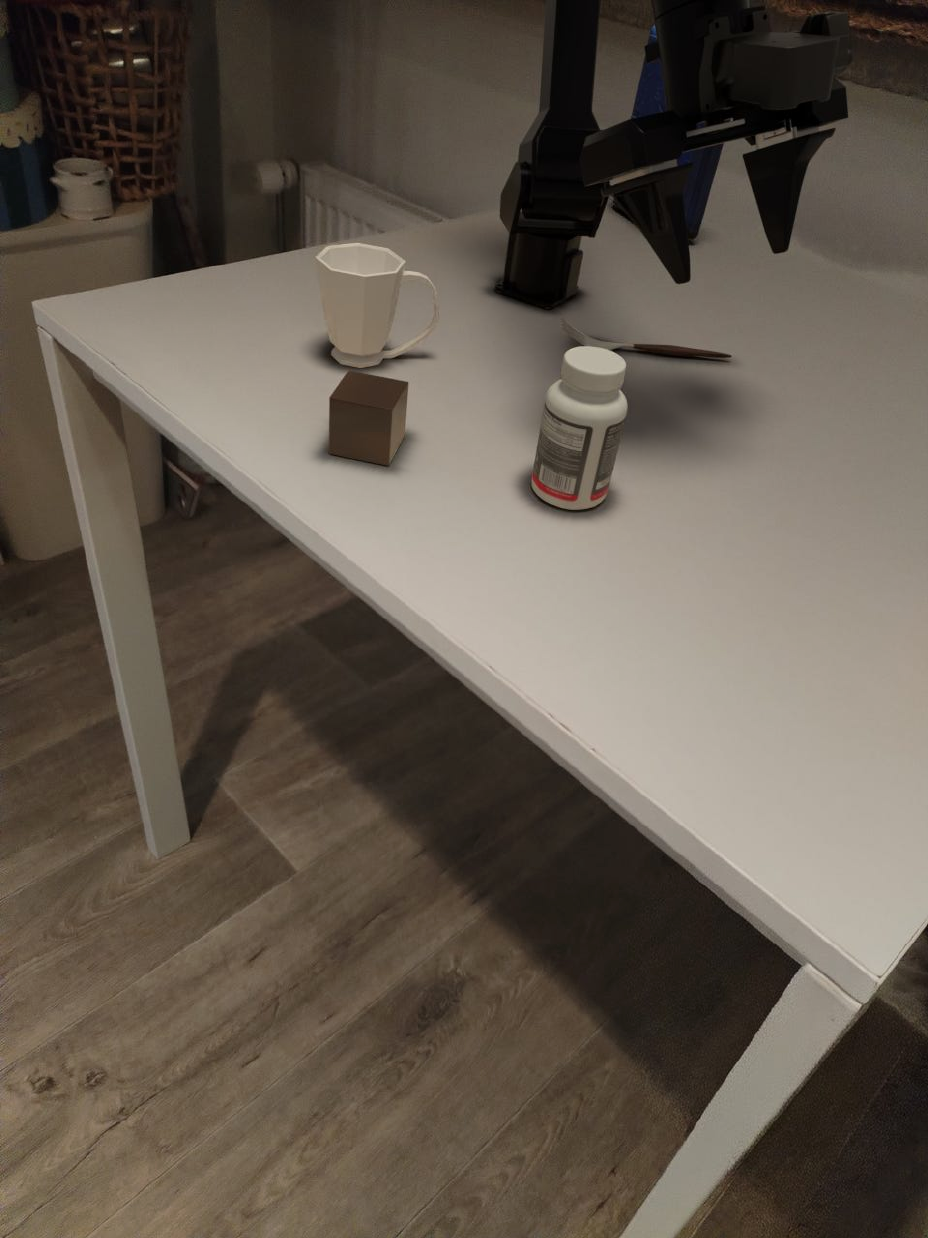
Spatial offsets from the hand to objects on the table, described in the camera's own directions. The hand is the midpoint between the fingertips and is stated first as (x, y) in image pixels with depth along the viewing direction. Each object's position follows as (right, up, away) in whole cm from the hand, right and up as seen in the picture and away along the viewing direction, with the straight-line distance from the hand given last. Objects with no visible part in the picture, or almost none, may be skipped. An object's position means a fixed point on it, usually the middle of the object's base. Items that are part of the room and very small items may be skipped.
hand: (733, 267), depth 62 cm
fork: (-2, 0, +20) cm, 20 cm away
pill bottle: (-11, -15, +1) cm, 19 cm away
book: (+4, +24, +48) cm, 54 cm away
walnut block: (-25, -12, +3) cm, 28 cm away
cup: (-26, -2, +14) cm, 29 cm away
